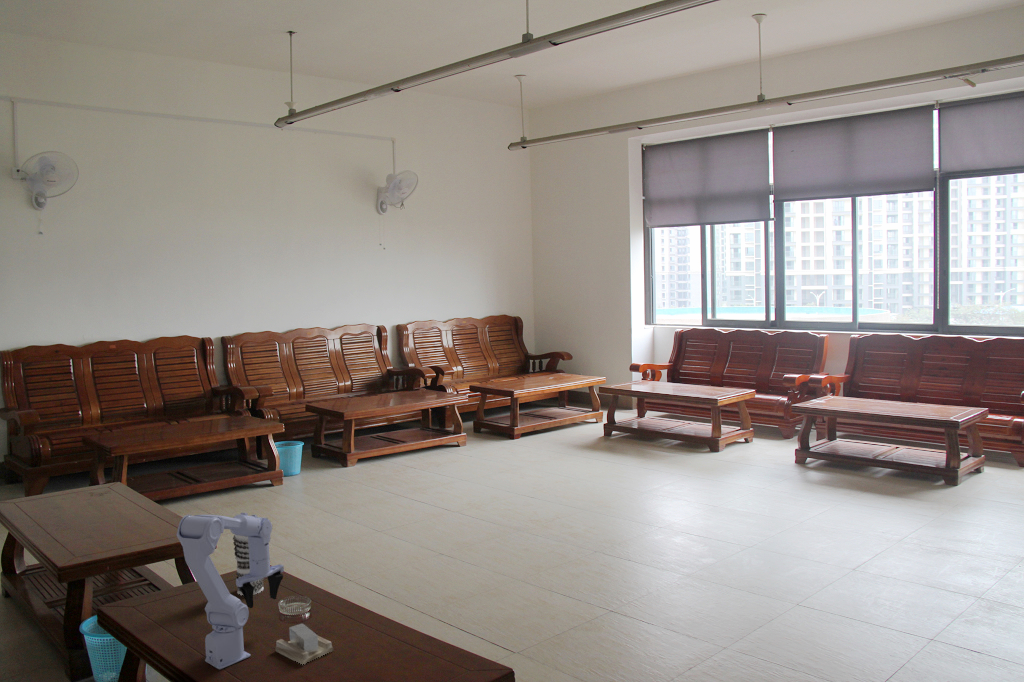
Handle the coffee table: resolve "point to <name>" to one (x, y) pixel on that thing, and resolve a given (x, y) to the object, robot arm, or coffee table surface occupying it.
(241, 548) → the decorative candle
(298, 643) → the grey rectangular block
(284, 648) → the cradle
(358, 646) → the coffee table surface
